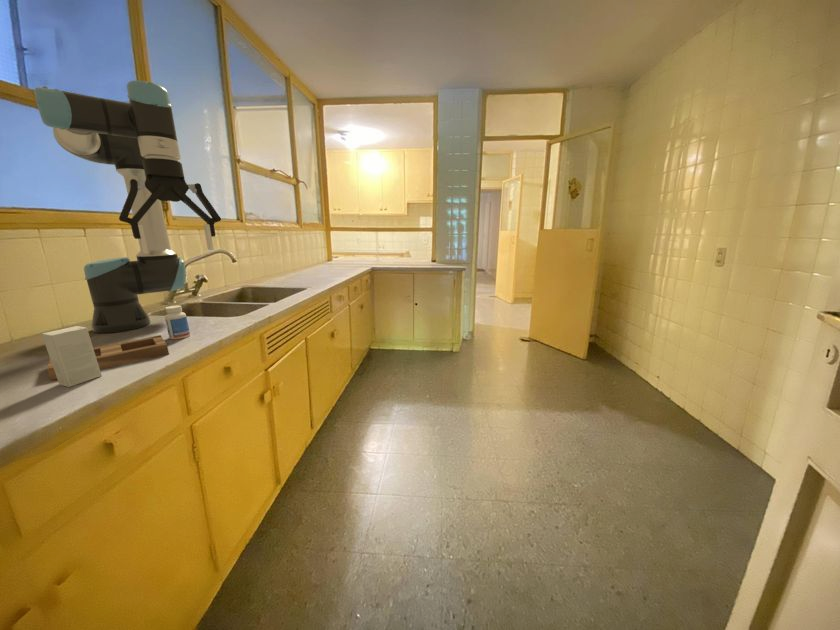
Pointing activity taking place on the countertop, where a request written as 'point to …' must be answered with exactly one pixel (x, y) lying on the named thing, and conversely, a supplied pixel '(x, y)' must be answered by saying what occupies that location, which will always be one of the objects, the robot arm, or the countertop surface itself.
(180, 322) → the pill bottle
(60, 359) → the skincare box
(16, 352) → the countertop surface
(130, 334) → the countertop surface
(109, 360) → the socket block
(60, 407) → the countertop surface
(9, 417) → the countertop surface
